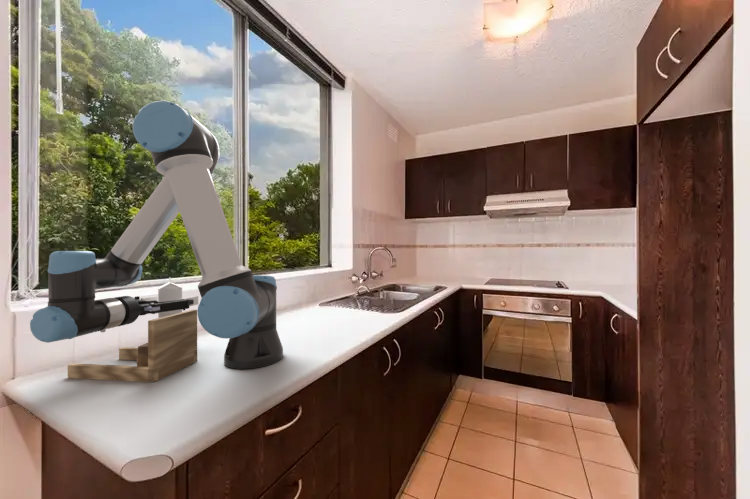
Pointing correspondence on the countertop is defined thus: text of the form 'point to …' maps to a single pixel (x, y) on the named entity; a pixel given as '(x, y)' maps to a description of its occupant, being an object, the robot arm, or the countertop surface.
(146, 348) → the offcut
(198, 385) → the countertop surface
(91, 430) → the countertop surface
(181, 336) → the rack
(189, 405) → the countertop surface
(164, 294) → the milk
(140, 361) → the offcut
